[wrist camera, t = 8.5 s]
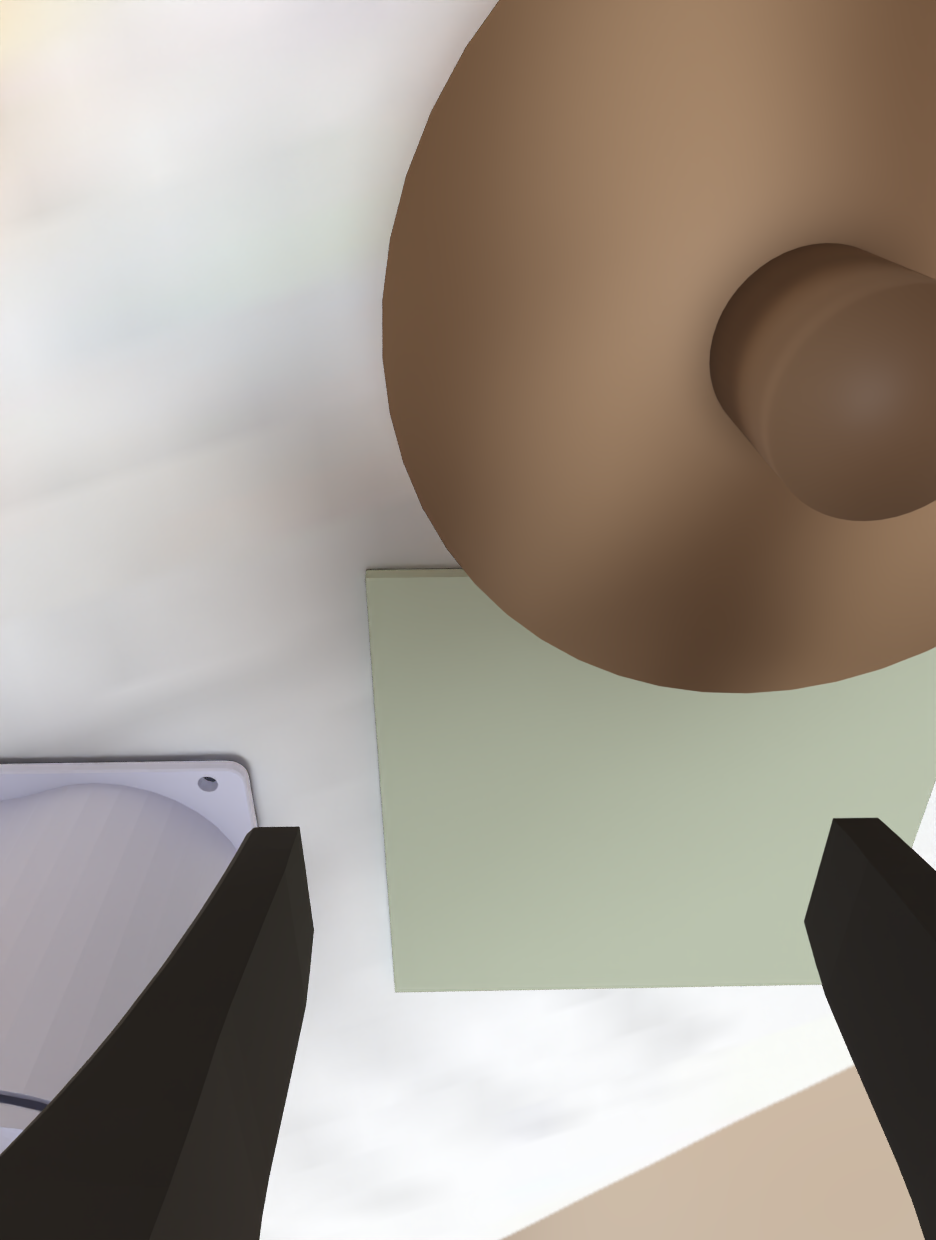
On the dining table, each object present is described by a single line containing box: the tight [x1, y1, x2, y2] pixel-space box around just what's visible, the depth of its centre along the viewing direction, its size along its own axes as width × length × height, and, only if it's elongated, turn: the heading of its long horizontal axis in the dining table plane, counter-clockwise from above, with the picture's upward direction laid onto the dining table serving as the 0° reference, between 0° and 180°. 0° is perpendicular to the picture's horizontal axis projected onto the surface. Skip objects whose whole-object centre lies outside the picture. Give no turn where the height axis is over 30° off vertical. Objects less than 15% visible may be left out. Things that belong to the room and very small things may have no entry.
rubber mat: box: [365, 569, 936, 992], centre depth 25 cm, size 15×15×1 cm
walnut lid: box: [382, 0, 936, 693], centre depth 13 cm, size 13×13×4 cm
